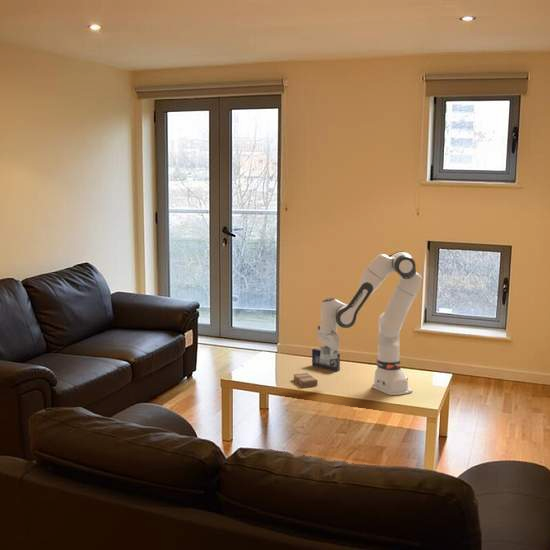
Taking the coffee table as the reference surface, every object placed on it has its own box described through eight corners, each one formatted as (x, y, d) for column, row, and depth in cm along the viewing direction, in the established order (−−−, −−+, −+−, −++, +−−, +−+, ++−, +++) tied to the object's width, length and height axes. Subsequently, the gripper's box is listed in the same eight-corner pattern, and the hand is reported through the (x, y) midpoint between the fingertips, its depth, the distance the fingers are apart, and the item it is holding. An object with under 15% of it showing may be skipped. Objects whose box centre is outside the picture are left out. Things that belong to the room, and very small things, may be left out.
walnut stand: (317, 385, 359) (317, 380, 359) (303, 387, 357) (303, 381, 356) (307, 378, 372) (307, 373, 372) (293, 379, 370) (293, 374, 369)
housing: (337, 358, 358) (337, 347, 357) (323, 360, 355) (323, 348, 354) (334, 356, 361) (334, 345, 360) (320, 358, 359) (320, 347, 358)
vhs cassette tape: (311, 365, 397) (311, 349, 395) (315, 364, 399) (315, 348, 397) (336, 371, 385) (337, 354, 383) (340, 370, 387) (340, 353, 385)
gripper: (342, 332, 347) (342, 358, 349) (326, 324, 366) (326, 349, 368) (331, 333, 345) (331, 360, 347) (315, 325, 364) (316, 350, 366)
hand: (328, 354), depth 358 cm, fingers closed on housing, 4 cm apart
